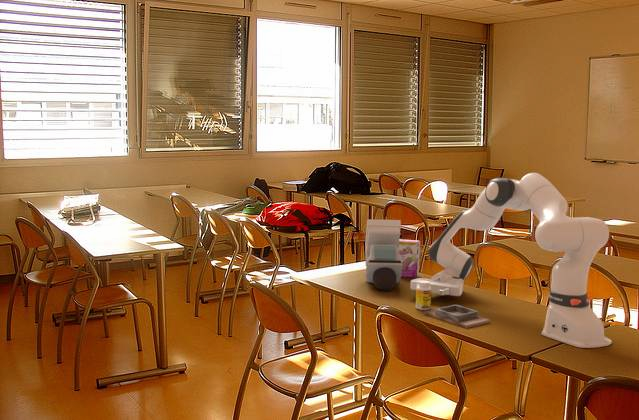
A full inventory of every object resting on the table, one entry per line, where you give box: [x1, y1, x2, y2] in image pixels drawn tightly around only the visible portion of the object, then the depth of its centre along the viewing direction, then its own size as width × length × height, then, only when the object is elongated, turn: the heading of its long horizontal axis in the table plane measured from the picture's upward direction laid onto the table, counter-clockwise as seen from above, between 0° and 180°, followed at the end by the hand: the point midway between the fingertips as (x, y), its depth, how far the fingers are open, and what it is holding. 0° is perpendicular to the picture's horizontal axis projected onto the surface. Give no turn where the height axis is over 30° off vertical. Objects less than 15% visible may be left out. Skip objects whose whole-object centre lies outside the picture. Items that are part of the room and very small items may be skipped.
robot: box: [364, 218, 402, 291], centre depth 289 cm, size 14×22×30 cm
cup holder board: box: [423, 304, 491, 329], centre depth 242 cm, size 20×12×3 cm, turn 36°
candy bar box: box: [399, 238, 421, 279], centre depth 306 cm, size 11×5×16 cm, turn 74°
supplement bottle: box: [415, 281, 432, 311], centre depth 254 cm, size 6×6×10 cm
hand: (429, 291), depth 259 cm, fingers open, 8 cm apart
